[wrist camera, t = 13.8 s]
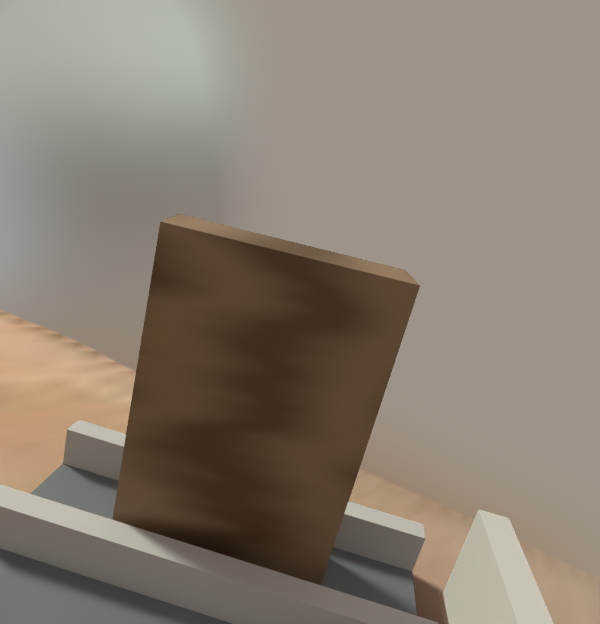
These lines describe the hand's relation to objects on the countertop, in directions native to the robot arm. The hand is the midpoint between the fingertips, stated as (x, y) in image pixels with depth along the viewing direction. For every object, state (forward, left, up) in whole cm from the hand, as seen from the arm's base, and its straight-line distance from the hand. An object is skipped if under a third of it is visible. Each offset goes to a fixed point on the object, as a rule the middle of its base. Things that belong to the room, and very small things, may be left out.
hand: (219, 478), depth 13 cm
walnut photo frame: (0, +7, -9) cm, 11 cm away
